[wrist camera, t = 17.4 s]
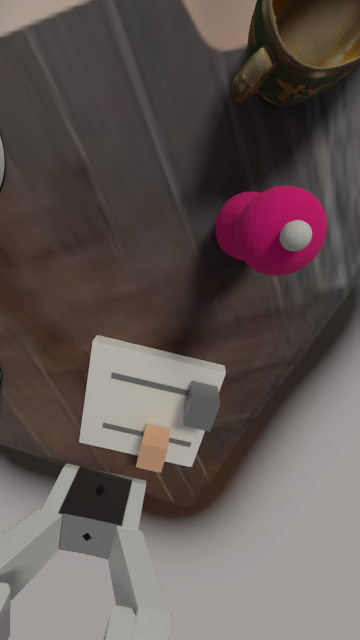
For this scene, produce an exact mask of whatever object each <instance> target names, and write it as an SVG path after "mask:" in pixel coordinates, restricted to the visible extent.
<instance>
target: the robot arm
mask: <svg viewBox="0 0 360 640" xmlns="http://www.w3.org/2000/svg"><path fill="white" fill-rule="evenodd" d="M3 175H4V151H3V146H2V142H1V138H0V186H1V183H2V180H3ZM145 488H146V481H145V480H140V479H135V478H133V479H132V477H127V476H122V475H117V474H112V473H105V472H101V471H97V470H92V469H88V468H84V467H80V466H76V465H71V464H66V465H65V466H64V467H63V469H62V471H61V473H60V475H59V477H58V478H57V481H56V482H55V484H54V486H53V488H52V490H51V492H50V494H49V496H48V498H47V499H46V501H45V503H44V505H43V507H42V509H41V510H40V509H36V510H35V511H33V512H32V513H31V514H29V515H28V516H27V517H25V518H24V519H23V520H21V521H20V522H19V523H17V524H16V525H15V526H14V527H12V528H11V529H10V530H8V531H7V532H6V533H4V534H3V535H2V536H0V640H8V638H9V636H10V601H11V600H12V599H13V598H14V597H15V596H16V595H17V594H18V593H19V592H20V591H21V590H22V589H23V588H24V586H25V585H26V584H27V583H28V582H29V581H30V580H31V579H32V578H33V577H34V576H35V575H36V574H37V573H38V572H39V571H40V570H41V569H42V567H44V565H45V564H46V563H47V562H48V561H49V560H50V559H51V558H52V557H53V556H54V555H55V554H56V553H57V552H58V549H60V550H66V551H72V552H78V553H84V554H88V555H93V556H96V557H101V558H105V559H109V560H108V562H109V568H110V573H111V579H112V584H113V590H114V595H115V601H116V607H115V608H114V609H113V610H112V612H111V616H110V619H109V622H108V626H107V629H106V632H105V636H104V640H169V627H170V612H169V609H168V606H167V603H166V600H165V597H164V595H163V591H162V588H161V585H160V582H159V580H158V576H157V574H156V571H155V568H154V565H153V562H152V559H151V556H150V553H149V550H148V547H147V544H146V541H145V538H144V535H143V532H142V531H140V530H138V527H139V521H140V516H141V510H142V505H143V499H144V493H145Z"/></svg>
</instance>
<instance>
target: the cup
mask: <svg viewBox="0 0 360 640" xmlns="http://www.w3.org/2000/svg"><path fill="white" fill-rule="evenodd" d="M247 60H248V61H247V62H246V63H245V64H244V66H243V67H242V68H241V69H240V70H239V71H238V73H237V75H236V76H235V78H234V80H233V82H232V86H231V89H232V94H233V96H234V98H235V100H237V101H238V102H244V101H245V100H247V99H248V97H250V96H251V95H252V94H253V95H256V94H257V93H259V94H260V95H261V96H262V97H263V98H264V99H265V100H267V101H269V102H270V103H273V104H275V105H280V106H290V105H296V104H299V103H302V102H305V101H307V100H309V99H311V98H313V97H315V96H317V95H319V94H320V93H322V92H324V91H325V90H327V89H328V88H330V87H331V86H332V85H334V84H335V83H337V82H338V81H340V80H341V79H342V78H344V77H345V76H346V75H347V74H349V73H350V72H352V71H353V70H354V69H355V68H356V67H358V66H359V65H360V0H257V2H256V6H255V10H254V13H253V16H252V20H251V25H250V30H249V36H248V47H247Z"/></svg>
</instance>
